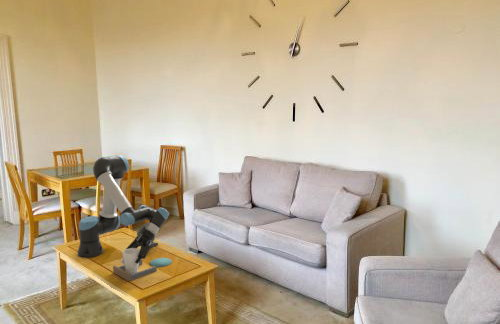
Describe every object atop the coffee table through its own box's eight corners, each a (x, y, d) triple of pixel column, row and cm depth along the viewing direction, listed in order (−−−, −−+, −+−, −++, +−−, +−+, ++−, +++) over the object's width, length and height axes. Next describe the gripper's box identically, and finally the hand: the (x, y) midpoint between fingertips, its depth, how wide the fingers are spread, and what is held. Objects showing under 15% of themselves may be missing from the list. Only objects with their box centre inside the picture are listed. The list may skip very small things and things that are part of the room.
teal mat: (145, 262, 230) (145, 262, 229) (163, 256, 239) (163, 256, 239) (158, 268, 221) (158, 268, 221) (176, 262, 231) (176, 261, 231)
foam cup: (143, 270, 219) (143, 249, 217) (134, 277, 210) (134, 254, 208) (129, 268, 221) (128, 247, 220) (120, 275, 212) (119, 253, 211)
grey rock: (132, 249, 252) (131, 223, 249) (150, 242, 264) (149, 217, 262) (146, 254, 244) (145, 227, 241) (164, 246, 256) (163, 221, 254)
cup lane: (113, 272, 216) (113, 266, 215) (141, 263, 229) (141, 256, 228) (128, 281, 205) (127, 274, 204) (156, 270, 218) (156, 264, 218)
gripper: (165, 239, 217) (142, 274, 208) (143, 231, 232) (121, 263, 222) (157, 232, 212) (133, 267, 203) (135, 224, 227) (112, 257, 218)
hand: (126, 265), depth 213 cm, fingers closed on foam cup, 9 cm apart
